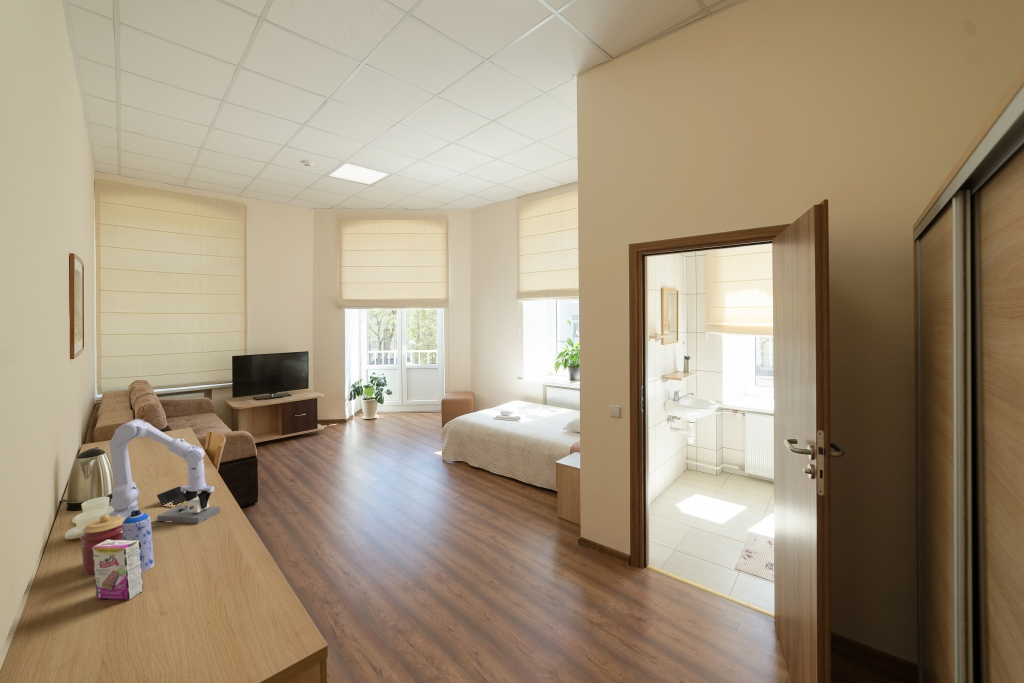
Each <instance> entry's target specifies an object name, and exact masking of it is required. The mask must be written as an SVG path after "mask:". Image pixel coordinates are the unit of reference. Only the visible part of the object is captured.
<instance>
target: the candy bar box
mask: <svg viewBox="0 0 1024 683" xmlns="http://www.w3.org/2000/svg"><path fill="white" fill-rule="evenodd" d="M92 550H93V561H94V572H95V574H94V580H95V594H96V599H97V600H114V601H116V600H117V601H118V600H119V601H130V600H132V599H133V597H134V598H135V597H136V596H138V595H139V594H141V593H143V592H144V586H143V585H144V584H143V575H142V574H143V572H142V571H141V559H140V546H139V541H137V540H105V541H103V542H101V543H99V544H97V545H95V546H93V547H92ZM140 592H141V593H140ZM137 594H138V595H137Z"/></svg>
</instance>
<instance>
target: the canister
mask: <svg viewBox="0 0 1024 683" xmlns="http://www.w3.org/2000/svg"><path fill="white" fill-rule="evenodd" d="M108 514H109V513H108ZM108 514H102V515H100V517H99V519H97V520H94V521H92V522H90V523H89V524H88V525H87V526H85V527H84V528H83V529H82V532H83V533H82V534H81V535H80V537H79V539H80V541H81V542H82V545H81V546H80V550H81V557H82V565H81V566H82V570H83V573H84V572H85V574H86V573H87V574H86V575H95V572H94V561H93V550H92V547H93V546H95V545H97V544H99V543H101V542H103V541H105V540H123V533H122V522H123V521H124V520H125V519H126V518H124V517H120V516H111V517H110V516H109V515H108Z"/></svg>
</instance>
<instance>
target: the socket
mask: <svg viewBox="0 0 1024 683" xmlns="http://www.w3.org/2000/svg"><path fill="white" fill-rule="evenodd" d="M220 507H221V506H213V505H209V507H208V508H206V509H204V510H202V511H203V512H202V513H200V514H198V513H197V512H196V514H195V513H194V512H188V504H184V505H183V504H180V505H178V506H175V507H173V508H171V509H169V510H166V511H164V512H162V513H160V514H159V515H156V517H157V518H156V521H172V522H171V523H174V522H184V523H183V524H195V523H199V524H201V523H202V521H203V522H205V521H206V520H205V519H207V518H208V519H210V518H212V517H214V516H216V515H217V514H216V513H218V512H220V513H221V508H220ZM215 514H216V515H215ZM218 514H219V513H218ZM213 515H214V516H213ZM211 516H212V517H211ZM209 517H210V518H209ZM208 519H207V520H208ZM204 520H205V521H204ZM185 522H186V523H185ZM200 522H201V523H200Z"/></svg>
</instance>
